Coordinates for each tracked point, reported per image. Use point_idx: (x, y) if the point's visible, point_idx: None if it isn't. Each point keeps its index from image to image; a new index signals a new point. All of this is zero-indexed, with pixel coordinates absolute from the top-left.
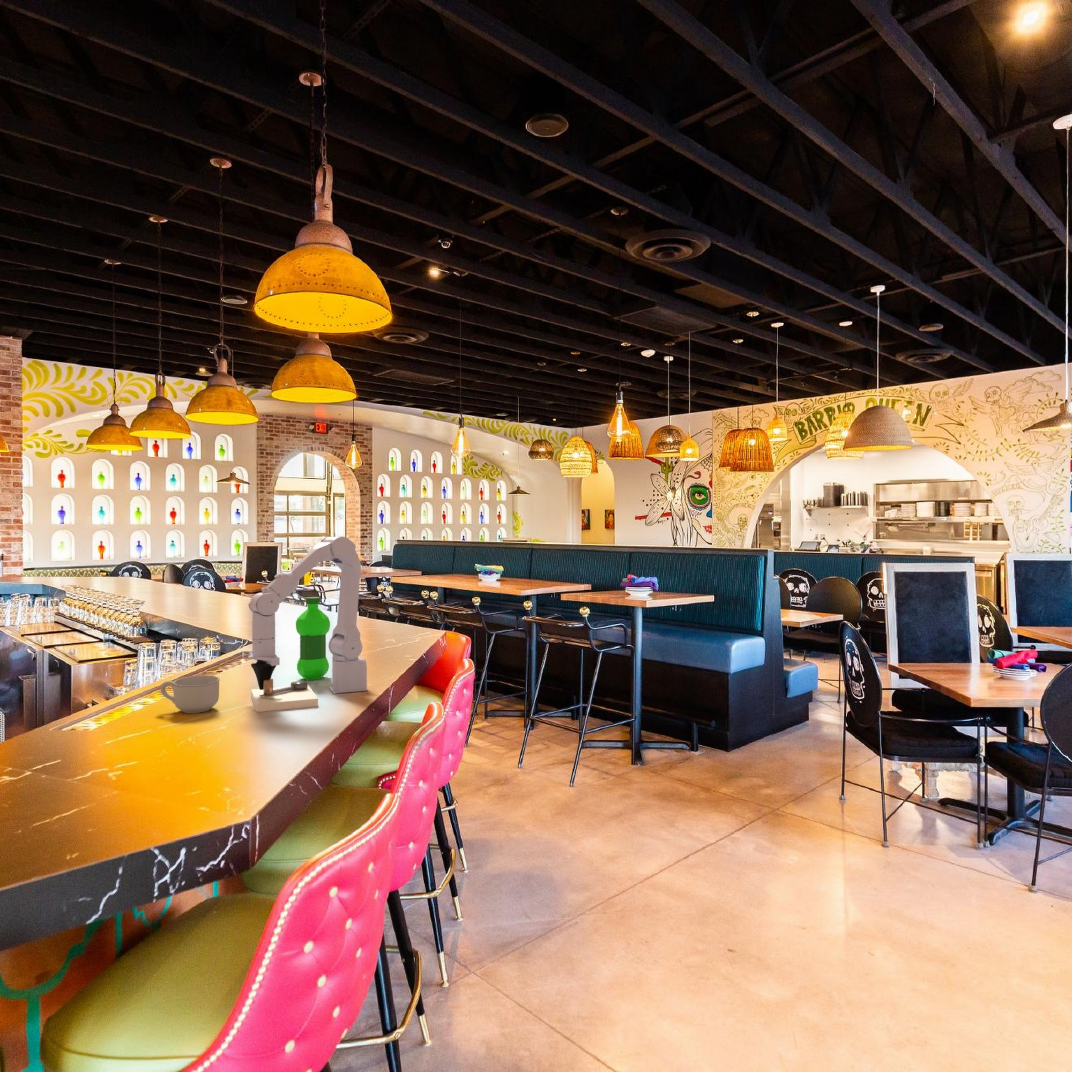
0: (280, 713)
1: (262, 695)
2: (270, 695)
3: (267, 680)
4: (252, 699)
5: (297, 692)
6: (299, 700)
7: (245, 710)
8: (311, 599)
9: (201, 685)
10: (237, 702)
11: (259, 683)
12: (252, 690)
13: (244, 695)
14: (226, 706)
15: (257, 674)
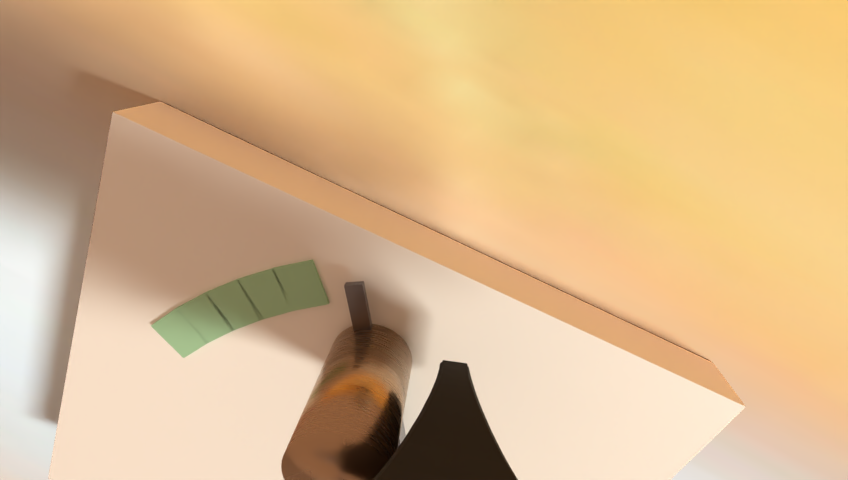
0: (15, 201)
1: (349, 304)
2: None
3: (290, 446)
4: (595, 309)
5: None
6: (65, 393)
7: (286, 73)
8: None
9: None
10: (639, 191)
11: (432, 395)
12: (700, 392)
13: (820, 361)
14: (582, 34)
15: (440, 477)
